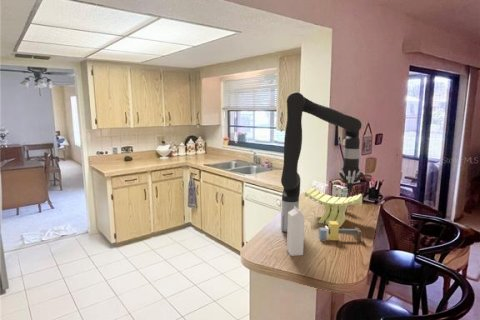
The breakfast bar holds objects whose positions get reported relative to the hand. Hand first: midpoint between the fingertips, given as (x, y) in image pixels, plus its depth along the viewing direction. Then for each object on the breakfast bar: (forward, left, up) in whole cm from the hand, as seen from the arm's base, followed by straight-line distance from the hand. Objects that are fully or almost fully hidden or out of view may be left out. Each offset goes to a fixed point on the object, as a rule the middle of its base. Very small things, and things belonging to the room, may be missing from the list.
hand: (349, 189), depth 158 cm
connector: (-15, -6, -25) cm, 30 cm away
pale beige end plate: (-13, -6, -22) cm, 26 cm away
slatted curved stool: (-2, +22, -25) cm, 34 cm away
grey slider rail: (-6, -6, -21) cm, 23 cm away
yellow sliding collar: (-9, -6, -25) cm, 27 cm away
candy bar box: (+8, +43, -25) cm, 50 cm away
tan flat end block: (+3, -6, -25) cm, 26 cm away
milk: (-31, -22, -25) cm, 46 cm away
